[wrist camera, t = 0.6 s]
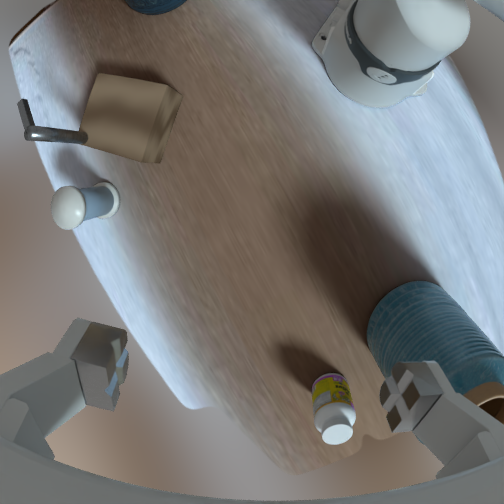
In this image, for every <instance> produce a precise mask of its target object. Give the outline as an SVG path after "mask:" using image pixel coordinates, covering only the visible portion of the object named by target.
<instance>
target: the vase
mask: <svg viewBox="0 0 504 504" xmlns="http://www.w3.org/2000/svg"><path fill="white" fill-rule="evenodd" d="M367 343H368V347H369V349H370V352H371V354H372V355H373V357H374V359H375V361H376V363H377V365H378V367H379V368H380V370H381V372H382V374H383V376H384V377H385V379H387V378H388V377H390V376H391V375H392V374H391V369H392V367H393V366H394V364H396V363H397V362H398V361H435V362H437V363H438V364H439V366H440V367H441V369H442V371H443V372H444V374H445V376H446V377H447V379H448V381H449V382H450V384H451V386H452V387H453V389H454V391H455V392H456V393H460V394H461V395H463V396H464V397H465V398H467V399H468V400H470V401H471V402H473V403H474V404H475V405H477V406H478V407H480V408H481V409H482V410H484V411H485V412H487V413H488V414H489V415H491V416H492V417H494V418H495V419H496V420H498V421H499V422H501V423H502V424H503V425H504V356H503V355H502V353H501V352H500V351H499V350H498V349H497V348H496V346H495V345H494V344H493V343H492V342H491V341H490V340H489V338H488V337H487V336H486V335H485V334H484V333H483V331H481V329H480V328H479V327H478V326H477V325H476V324H475V323H474V322H473V320H472V319H471V318H470V317H469V316H468V315H467V313H466V312H465V311H464V310H463V309H462V308H461V307H460V305H459V304H458V303H457V302H456V301H455V300H454V299H453V298H452V297H451V296H450V295H448V293H447V292H446V291H445V290H444V289H442V288H441V287H440V286H438V285H436V284H434V283H432V282H428V281H413V282H409V283H405V284H403V285H400V286H398V287H397V288H395V289H393V290H392V291H390V292H389V293H388V294H387V295H386V296H385V297H383V299H382V300H381V301H380V302H379V303H378V305H377V306H376V307H375V309H374V311H373V313H372V315H371V317H370V320H369V323H368V327H367ZM415 436H416V435H415ZM416 437H417V436H416ZM417 439H418V440H419V441H420V442H421V440H420V439H419V438H418V437H417ZM421 443H422V442H421ZM422 444H423V443H422Z"/></svg>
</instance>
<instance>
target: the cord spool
mask: <svg viewBox="0 0 504 504" xmlns="http://www.w3.org/2000/svg"><path fill="white" fill-rule="evenodd" d="M119 206H120V195H119V192H118V190H117V188H116V187H115V186H114V185H112V184H111V183H108V182H102V183H98V184H96V185H94V186H93V187H90V188H82V189H78V188H76V187H74V186H64V187H61V188H59V189H58V190H57V191H56V192H55V194H54V195H53V198H52V201H51V213H52V217H53V219H54V221H55V223H56V224H57V225H58V226H59V227H61V228H63V229H66V230H69V229H73V228H76V227H78V226H79V225H80V224H81V223H82V222H83V221H85V220H89V219H92V218H96V217H97V218H100V219H106V218H109V217H112V216H113V215H114V214H115V213H116V212H117V211H118V209H119Z"/></svg>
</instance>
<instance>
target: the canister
mask: <svg viewBox="0 0 504 504" xmlns="http://www.w3.org/2000/svg"><path fill="white" fill-rule="evenodd" d="M125 1H126V3H127V4H128V5H129V6H130V7H131V8H132V9H133V10H135V11H137V12H140V13H142V14H146V15H158V14H163V13H166V12H169V11H171V10H173V9H175V8H177V7H179V6H180V5H182V4H183V3H184V2H186V1H187V0H125Z"/></svg>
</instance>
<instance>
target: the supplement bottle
mask: <svg viewBox="0 0 504 504" xmlns="http://www.w3.org/2000/svg"><path fill="white" fill-rule="evenodd" d="M312 400H313V412H314V424H315V426H316V428H317V429H318V430H319V431H320V432H321V434H322V439H323V440H324V441H325V442H326V443H328V444H341V443H344V442H345V441H347V440H348V439H349V438H350V437H351V436H352V433H353V430H352V425H353V424H354V422H355V418H356V415H355V410H354V406H353V402H352V398H351V393H350V389H349V385H348V382H347V380H346V379H345V378H344V377H343V376H342V375H340V374H336V373H328V374H325V375H322V376H320V377H319V378H318V379H317V380H316V381H315V382H314V384H313V386H312Z"/></svg>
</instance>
